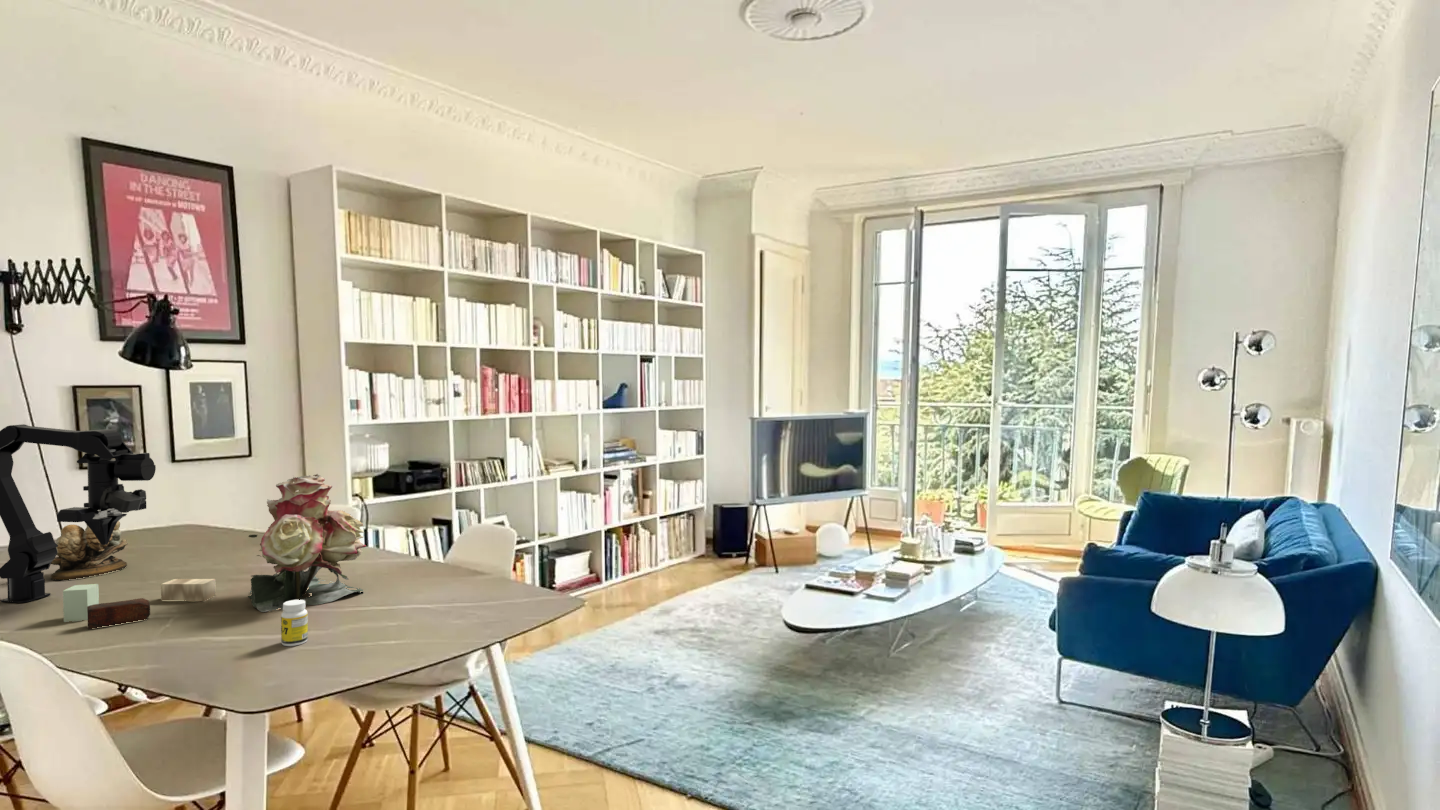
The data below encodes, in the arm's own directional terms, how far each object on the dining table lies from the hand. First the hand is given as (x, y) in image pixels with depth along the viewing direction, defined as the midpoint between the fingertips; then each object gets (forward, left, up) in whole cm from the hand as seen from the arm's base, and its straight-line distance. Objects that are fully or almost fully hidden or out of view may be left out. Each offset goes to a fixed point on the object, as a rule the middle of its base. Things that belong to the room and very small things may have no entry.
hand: (104, 544), depth 181 cm
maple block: (+16, 0, -11) cm, 20 cm away
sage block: (+9, -15, -13) cm, 22 cm away
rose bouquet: (+47, +8, -13) cm, 50 cm away
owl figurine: (-24, +20, -13) cm, 34 cm away
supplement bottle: (+66, -24, -13) cm, 71 cm away
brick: (+20, -17, -13) cm, 30 cm away
